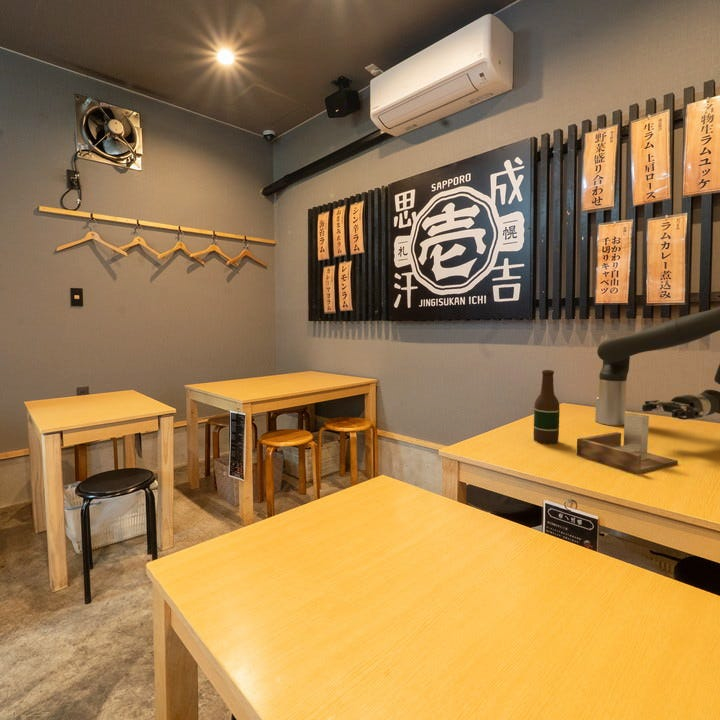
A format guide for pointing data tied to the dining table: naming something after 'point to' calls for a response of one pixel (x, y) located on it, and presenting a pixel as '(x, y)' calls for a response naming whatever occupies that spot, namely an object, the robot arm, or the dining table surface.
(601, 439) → the walls
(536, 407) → the beer bottle
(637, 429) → the bracket
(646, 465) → the board
